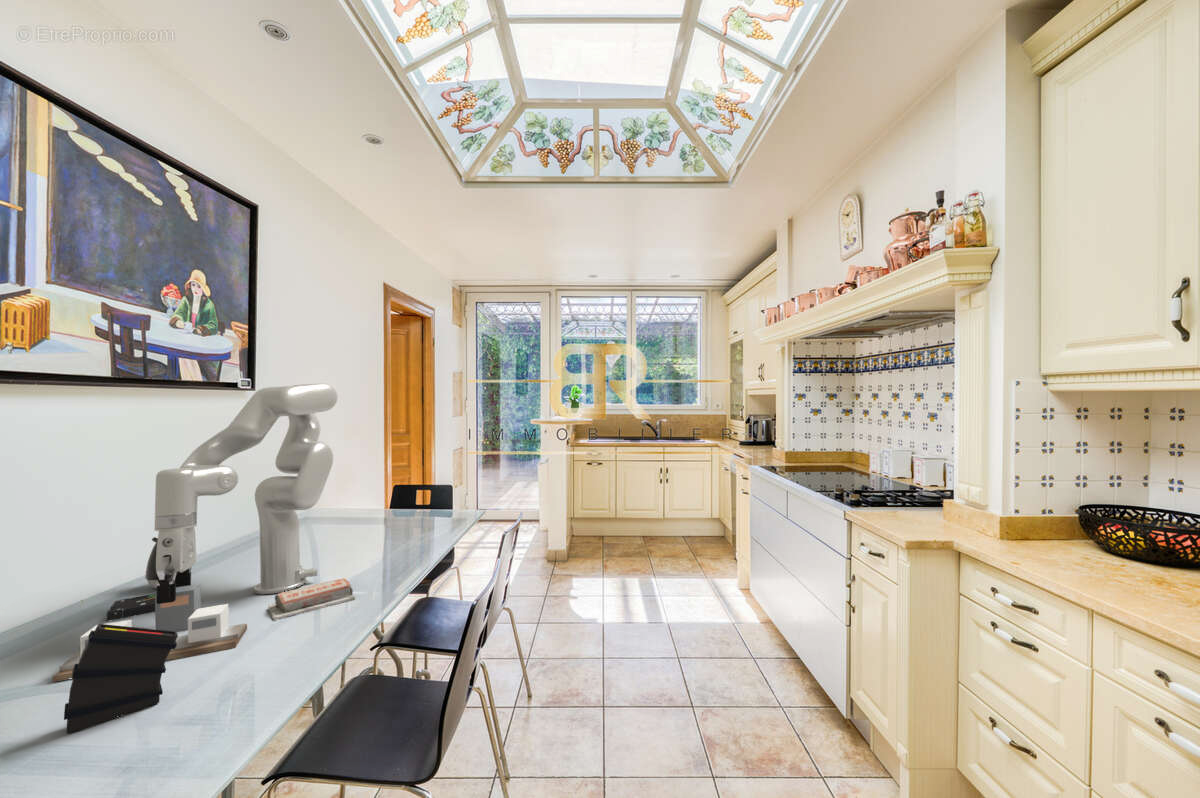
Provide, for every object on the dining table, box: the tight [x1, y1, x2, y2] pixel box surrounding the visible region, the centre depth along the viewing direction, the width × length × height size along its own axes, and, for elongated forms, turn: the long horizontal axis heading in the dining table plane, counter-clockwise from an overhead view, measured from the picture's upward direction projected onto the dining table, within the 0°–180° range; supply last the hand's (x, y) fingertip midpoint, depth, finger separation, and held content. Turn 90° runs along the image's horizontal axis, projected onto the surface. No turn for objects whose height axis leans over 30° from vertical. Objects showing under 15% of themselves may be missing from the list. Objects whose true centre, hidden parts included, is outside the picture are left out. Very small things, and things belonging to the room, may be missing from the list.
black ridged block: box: [63, 623, 179, 735], centre depth 80 cm, size 4×13×15 cm, turn 136°
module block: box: [154, 583, 202, 633], centre depth 114 cm, size 7×5×9 cm
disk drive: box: [106, 592, 157, 622], centre depth 128 cm, size 10×3×15 cm
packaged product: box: [267, 578, 356, 621], centre depth 125 cm, size 18×5×10 cm
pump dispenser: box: [144, 536, 177, 590], centre depth 144 cm, size 10×10×15 cm
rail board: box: [52, 623, 248, 683], centre depth 101 cm, size 28×10×2 cm, turn 115°
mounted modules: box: [79, 603, 230, 658], centre depth 101 cm, size 22×6×5 cm, turn 115°
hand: (174, 595), depth 113 cm, fingers open, 9 cm apart
